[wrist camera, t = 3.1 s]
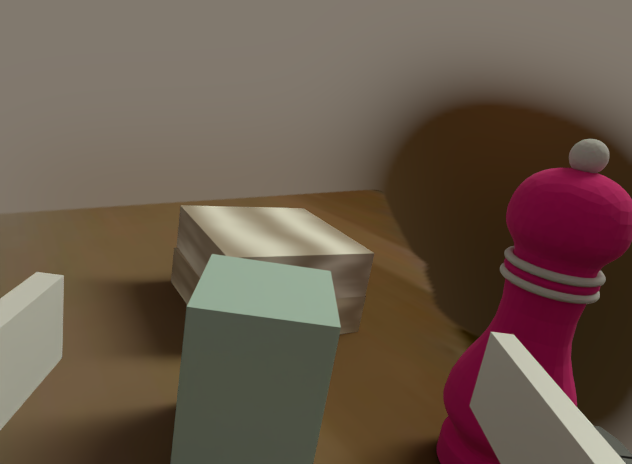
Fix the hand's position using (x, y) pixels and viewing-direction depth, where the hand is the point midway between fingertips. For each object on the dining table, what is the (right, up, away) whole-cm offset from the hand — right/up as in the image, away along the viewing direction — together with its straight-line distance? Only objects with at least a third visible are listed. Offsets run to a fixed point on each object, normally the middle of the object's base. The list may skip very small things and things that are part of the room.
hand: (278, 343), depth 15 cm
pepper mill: (+12, -11, +15) cm, 22 cm away
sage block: (-3, -9, +13) cm, 16 cm away
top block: (-3, 0, +30) cm, 30 cm away
